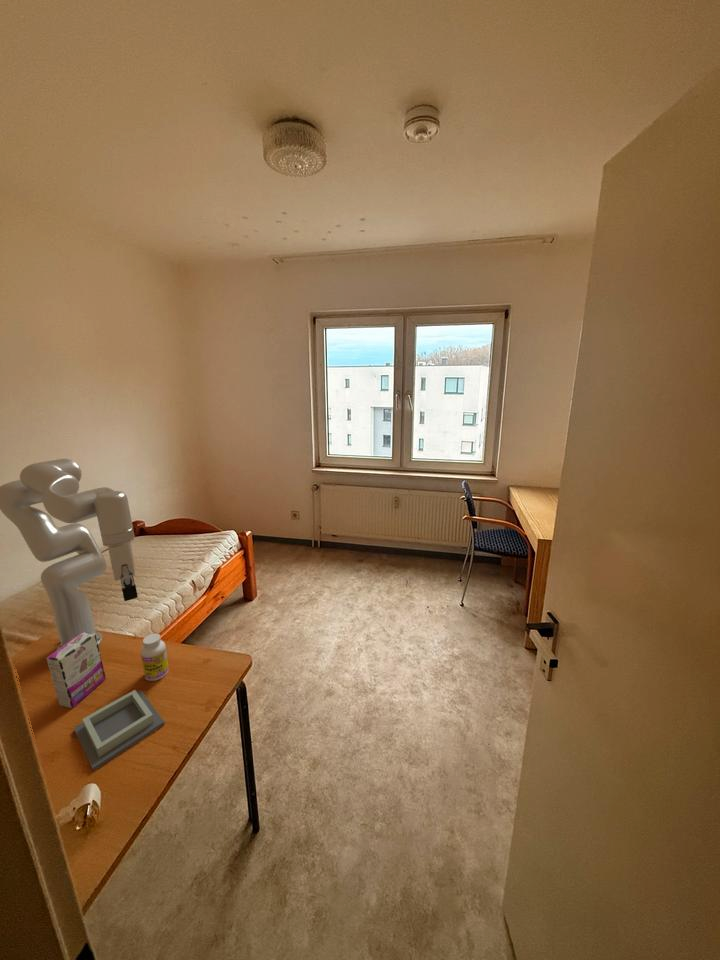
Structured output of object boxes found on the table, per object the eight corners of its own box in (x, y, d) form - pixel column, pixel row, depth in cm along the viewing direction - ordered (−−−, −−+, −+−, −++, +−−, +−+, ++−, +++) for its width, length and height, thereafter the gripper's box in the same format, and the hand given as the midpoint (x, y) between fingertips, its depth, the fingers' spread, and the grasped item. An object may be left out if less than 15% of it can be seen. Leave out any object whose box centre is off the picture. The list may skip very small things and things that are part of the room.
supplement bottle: (142, 684, 111) (135, 647, 107) (148, 668, 117) (142, 633, 114) (166, 679, 112) (160, 643, 109) (171, 664, 119) (165, 629, 115)
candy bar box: (92, 676, 114) (82, 630, 109) (106, 678, 113) (97, 632, 108) (57, 706, 103) (44, 657, 99) (72, 709, 102) (60, 660, 98)
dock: (74, 730, 96) (71, 719, 95) (141, 692, 108) (139, 682, 107) (93, 771, 86) (90, 759, 85) (164, 724, 98) (162, 713, 97)
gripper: (101, 530, 106) (112, 583, 111) (102, 550, 93) (115, 610, 97) (131, 524, 111) (141, 575, 115) (137, 542, 97) (148, 600, 101)
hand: (129, 591), depth 106 cm, fingers open, 9 cm apart
